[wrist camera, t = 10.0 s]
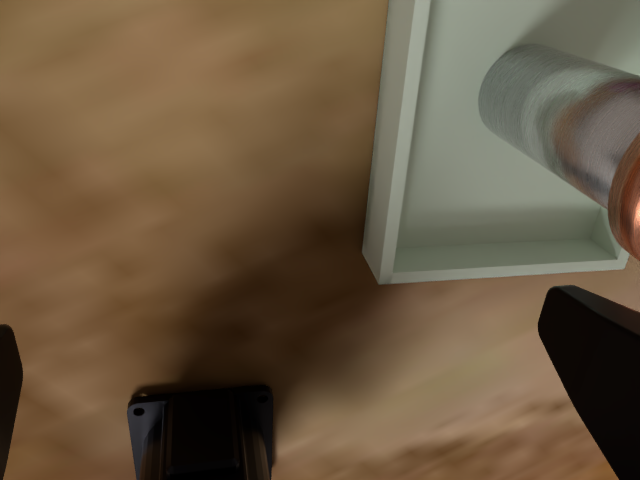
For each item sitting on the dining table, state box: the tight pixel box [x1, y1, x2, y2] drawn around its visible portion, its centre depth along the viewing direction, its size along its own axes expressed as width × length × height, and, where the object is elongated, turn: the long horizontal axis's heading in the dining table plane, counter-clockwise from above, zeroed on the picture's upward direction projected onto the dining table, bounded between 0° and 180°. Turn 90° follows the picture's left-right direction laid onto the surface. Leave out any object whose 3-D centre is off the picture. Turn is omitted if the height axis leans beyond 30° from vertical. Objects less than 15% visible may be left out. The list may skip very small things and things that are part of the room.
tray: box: [362, 0, 640, 285], centre depth 21 cm, size 14×11×2 cm
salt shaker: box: [478, 44, 640, 261], centre depth 17 cm, size 5×5×10 cm
